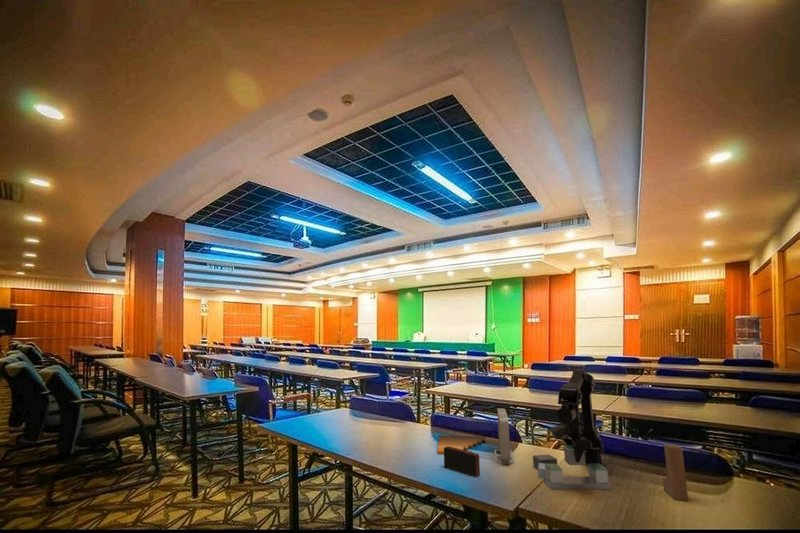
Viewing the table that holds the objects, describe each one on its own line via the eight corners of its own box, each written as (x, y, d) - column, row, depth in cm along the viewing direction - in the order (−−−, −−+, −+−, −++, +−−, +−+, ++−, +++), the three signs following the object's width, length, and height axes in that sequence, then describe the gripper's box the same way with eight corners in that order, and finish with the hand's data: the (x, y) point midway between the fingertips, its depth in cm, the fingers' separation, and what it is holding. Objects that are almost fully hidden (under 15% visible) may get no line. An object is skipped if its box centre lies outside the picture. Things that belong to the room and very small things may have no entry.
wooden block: (663, 489, 145) (658, 440, 148) (676, 491, 144) (671, 440, 147) (674, 500, 136) (668, 446, 139) (688, 501, 135) (682, 447, 138)
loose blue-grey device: (551, 474, 161) (551, 464, 162) (551, 480, 155) (551, 469, 156) (539, 472, 163) (538, 462, 164) (538, 478, 157) (538, 468, 157)
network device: (515, 466, 170) (513, 419, 173) (495, 465, 171) (493, 418, 175) (511, 449, 194) (509, 408, 198) (493, 448, 196) (491, 407, 199)
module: (579, 461, 153) (578, 445, 154) (585, 465, 148) (583, 448, 149) (564, 461, 153) (563, 445, 154) (569, 465, 148) (568, 448, 149)
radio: (480, 475, 160) (479, 437, 162) (476, 477, 158) (475, 439, 160) (444, 464, 172) (443, 430, 175) (440, 466, 170) (439, 431, 173)
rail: (601, 481, 153) (599, 463, 154) (610, 489, 146) (609, 469, 147) (544, 482, 153) (543, 463, 154) (550, 489, 146) (549, 469, 147)
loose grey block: (550, 466, 171) (549, 454, 171) (557, 471, 165) (556, 459, 166) (533, 467, 169) (532, 455, 170) (540, 472, 163) (540, 460, 164)
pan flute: (485, 442, 208) (439, 440, 211) (484, 435, 208) (439, 434, 211) (490, 457, 183) (438, 455, 186) (489, 450, 184) (438, 448, 187)
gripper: (543, 413, 163) (545, 452, 160) (561, 424, 144) (564, 468, 142) (569, 413, 162) (572, 452, 160) (591, 424, 144) (594, 468, 142)
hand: (574, 459), depth 151 cm, fingers closed on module, 4 cm apart
